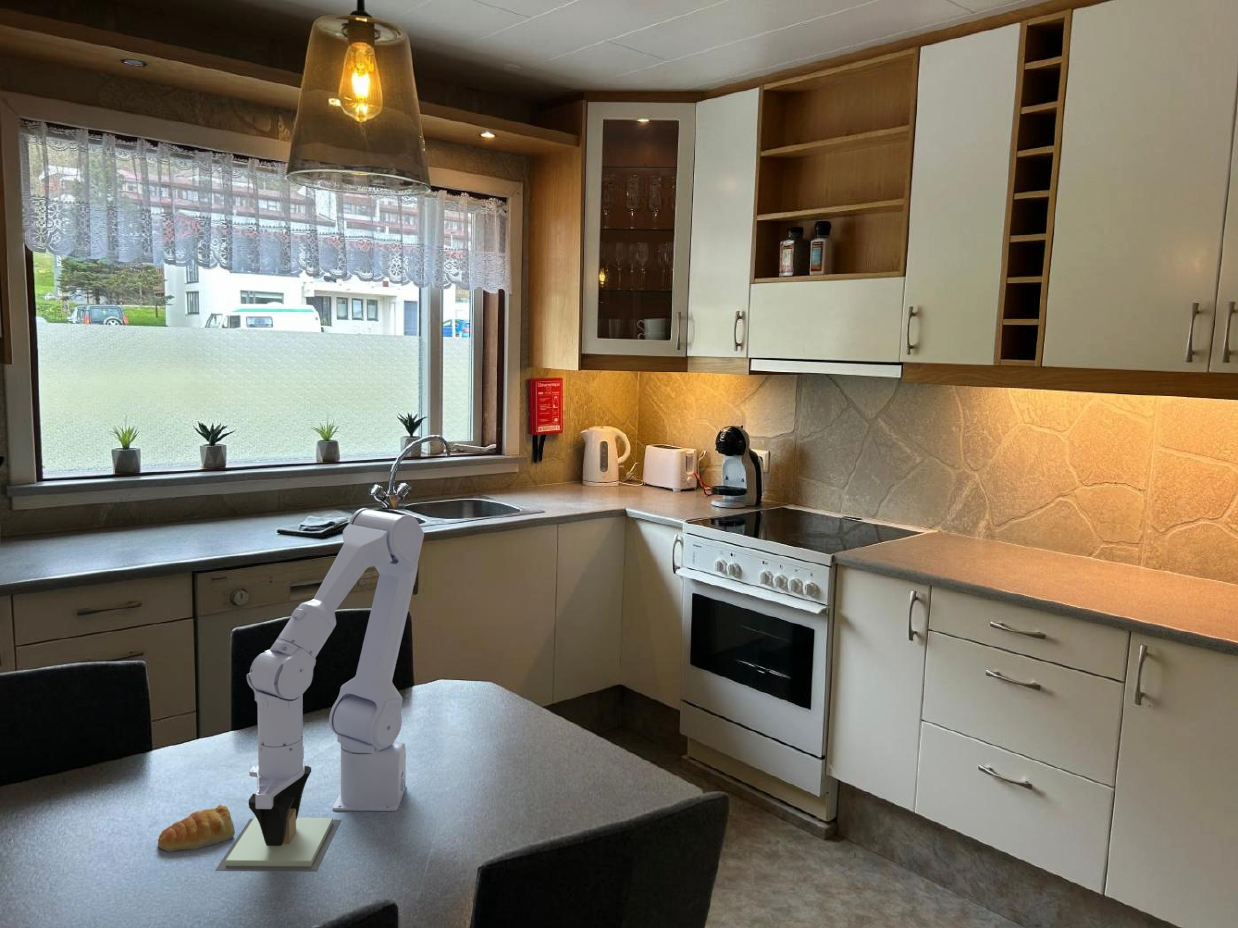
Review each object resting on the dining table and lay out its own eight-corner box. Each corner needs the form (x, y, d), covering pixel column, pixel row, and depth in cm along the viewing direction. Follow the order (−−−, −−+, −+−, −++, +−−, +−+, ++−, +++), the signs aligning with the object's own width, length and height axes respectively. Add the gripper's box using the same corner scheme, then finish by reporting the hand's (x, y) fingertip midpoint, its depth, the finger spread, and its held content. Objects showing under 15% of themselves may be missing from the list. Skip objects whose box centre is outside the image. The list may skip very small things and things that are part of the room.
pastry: (165, 863, 121) (164, 835, 120) (152, 841, 126) (151, 815, 125) (238, 840, 127) (238, 814, 126) (223, 820, 132) (222, 795, 131)
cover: (332, 822, 131) (332, 794, 131) (311, 866, 120) (310, 835, 120) (254, 822, 131) (254, 793, 130) (225, 865, 120) (225, 834, 119)
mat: (341, 820, 132) (341, 819, 132) (316, 871, 119) (316, 870, 119) (250, 819, 132) (250, 818, 132) (215, 871, 119) (215, 869, 119)
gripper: (268, 716, 131) (269, 805, 132) (230, 761, 116) (232, 861, 118) (318, 716, 131) (318, 806, 133) (287, 762, 117) (287, 862, 118)
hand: (281, 832), depth 125 cm, fingers open, 5 cm apart
